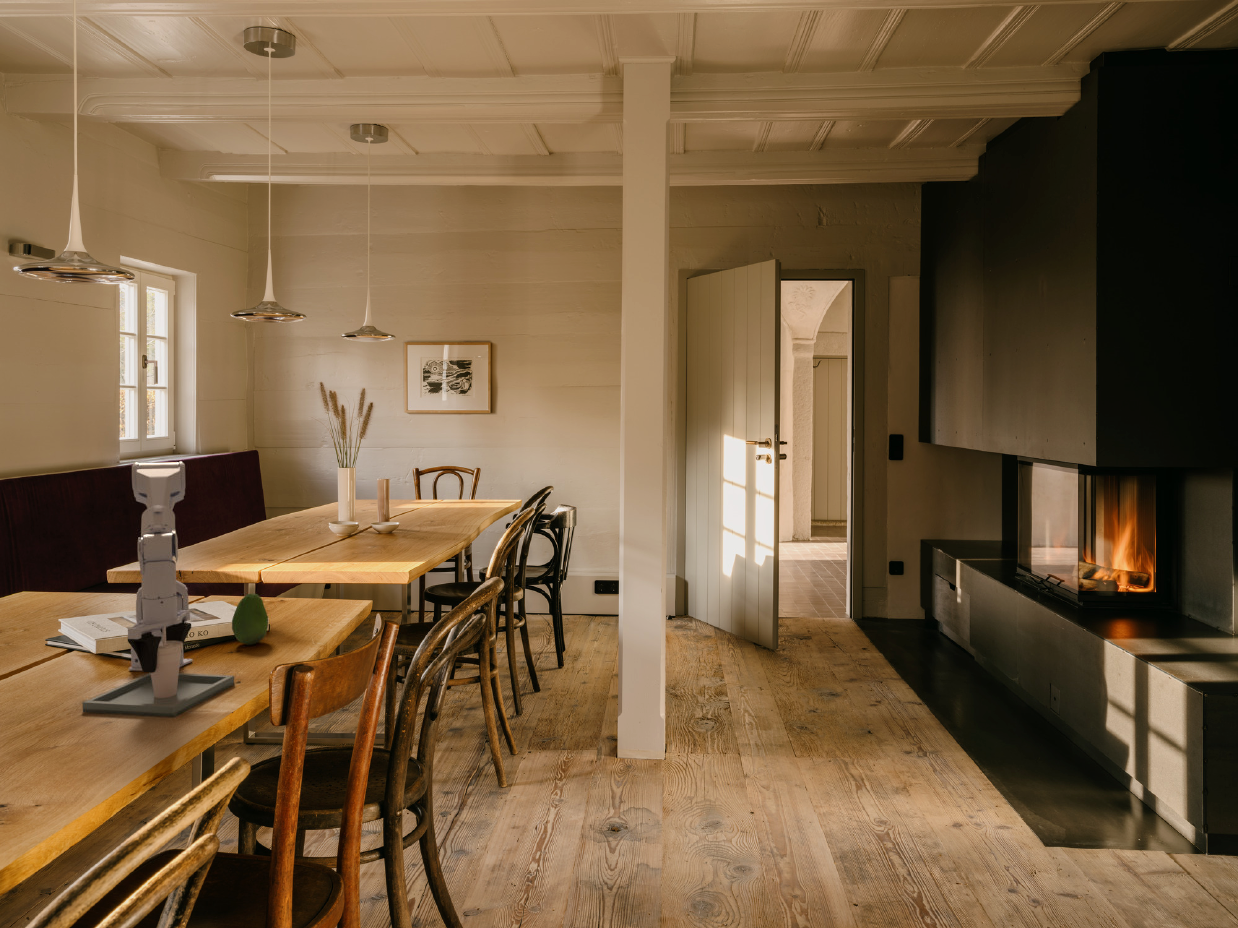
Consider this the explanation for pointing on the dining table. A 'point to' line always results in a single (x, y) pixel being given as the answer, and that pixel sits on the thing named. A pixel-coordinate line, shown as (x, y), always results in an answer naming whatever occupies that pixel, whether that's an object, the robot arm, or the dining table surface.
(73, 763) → the dining table surface
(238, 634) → the avocado
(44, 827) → the dining table surface
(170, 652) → the smoothie
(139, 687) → the tray
